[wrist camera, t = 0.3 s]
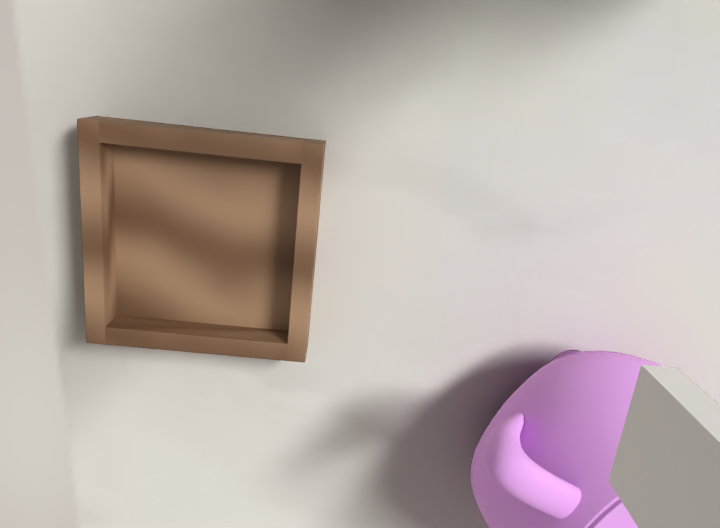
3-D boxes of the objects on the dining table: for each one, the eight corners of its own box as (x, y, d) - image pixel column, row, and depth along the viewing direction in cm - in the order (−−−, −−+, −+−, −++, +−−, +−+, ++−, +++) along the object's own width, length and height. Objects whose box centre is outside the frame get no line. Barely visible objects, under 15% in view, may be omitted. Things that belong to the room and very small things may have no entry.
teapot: (358, 475, 43) (362, 671, 29) (521, 263, 38) (623, 373, 24) (561, 584, 47) (653, 806, 32) (734, 402, 42) (934, 570, 27)
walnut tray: (96, 116, 35) (77, 118, 32) (325, 140, 36) (323, 145, 33) (103, 326, 39) (86, 342, 37) (307, 344, 40) (304, 362, 37)
